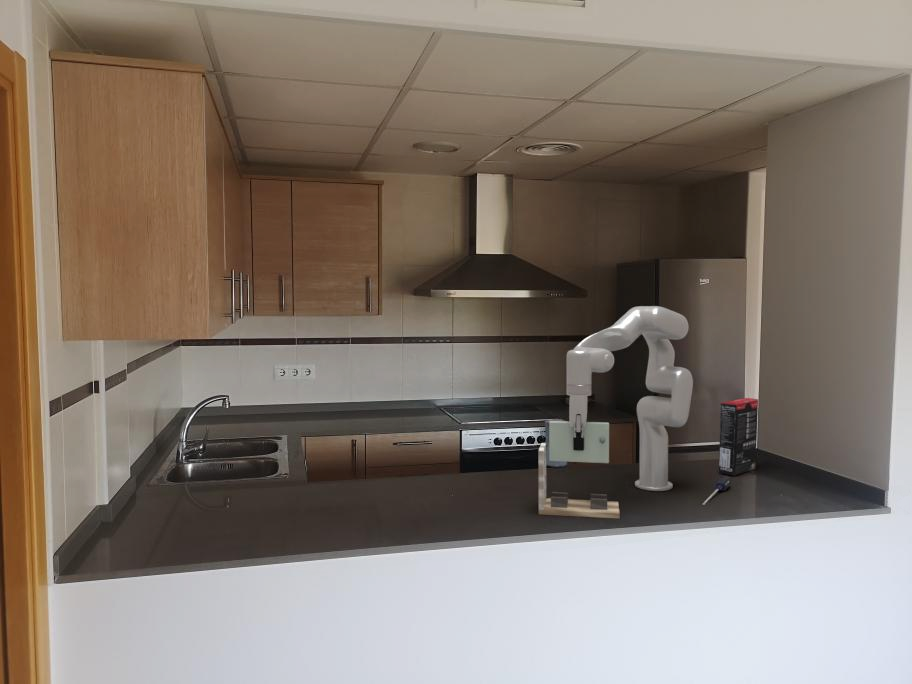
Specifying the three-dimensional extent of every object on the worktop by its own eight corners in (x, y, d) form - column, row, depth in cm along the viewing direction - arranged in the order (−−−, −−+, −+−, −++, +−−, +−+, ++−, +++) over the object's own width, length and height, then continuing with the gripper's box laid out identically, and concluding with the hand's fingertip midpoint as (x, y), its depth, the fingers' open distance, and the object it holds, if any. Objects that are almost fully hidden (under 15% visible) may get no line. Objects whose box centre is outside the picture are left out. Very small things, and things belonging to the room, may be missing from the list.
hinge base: (541, 502, 212) (541, 442, 211) (618, 506, 208) (618, 445, 206) (538, 514, 201) (538, 451, 200) (619, 518, 196) (619, 453, 195)
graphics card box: (740, 466, 256) (741, 396, 255) (757, 469, 251) (758, 398, 249) (717, 473, 245) (718, 401, 244) (736, 477, 240) (736, 403, 238)
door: (549, 458, 206) (549, 421, 206) (608, 461, 203) (608, 422, 202) (549, 461, 203) (549, 423, 202) (609, 464, 199) (609, 424, 198)
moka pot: (570, 461, 267) (570, 412, 266) (566, 470, 252) (566, 419, 251) (546, 460, 270) (546, 411, 269) (541, 469, 255) (541, 418, 254)
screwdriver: (708, 506, 207) (709, 494, 207) (697, 504, 209) (697, 492, 209) (732, 487, 228) (733, 477, 227) (721, 486, 230) (722, 475, 230)
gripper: (567, 386, 211) (567, 443, 212) (565, 393, 195) (565, 454, 196) (591, 387, 209) (591, 444, 210) (591, 393, 193) (591, 455, 194)
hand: (578, 448), depth 203 cm, fingers closed on door, 2 cm apart
